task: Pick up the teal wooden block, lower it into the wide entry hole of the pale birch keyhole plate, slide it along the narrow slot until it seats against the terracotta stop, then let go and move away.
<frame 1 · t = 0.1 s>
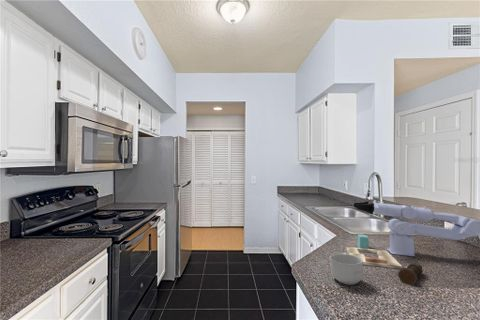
hand: (355, 205, 123), 22 cm above the countertop, tool horizontal, fingers open, 7 cm apart
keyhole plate: (370, 258, 108), on the countertop
slider block: (363, 247, 123), on the countertop
bolt: (413, 278, 88), on the countertop
teacup: (346, 279, 86), on the countertop
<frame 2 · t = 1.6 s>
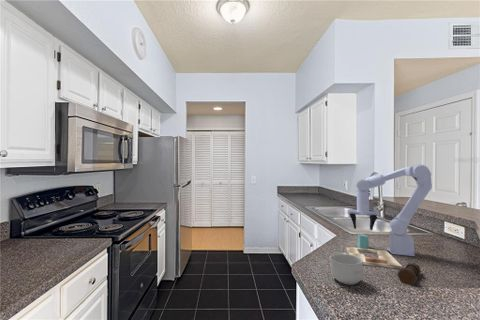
hand: (363, 229, 124), 9 cm above the countertop, tool pointing down, fingers open, 7 cm apart
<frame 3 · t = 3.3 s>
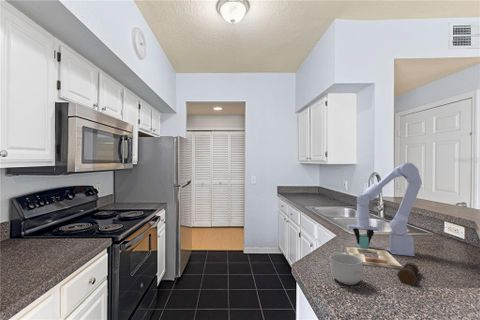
hand: (363, 244, 123), 2 cm above the countertop, tool pointing down, fingers closed on slider block, 4 cm apart
slider block: (363, 247, 123), on the countertop, touching gripper
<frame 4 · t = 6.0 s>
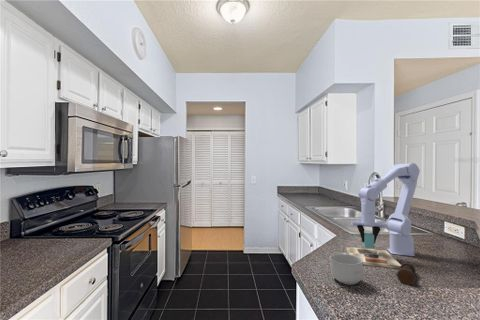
hand: (368, 242, 113), 6 cm above the countertop, tool pointing down, fingers closed on slider block, 4 cm apart
slider block: (368, 246, 113), point 4 cm above the countertop, touching gripper
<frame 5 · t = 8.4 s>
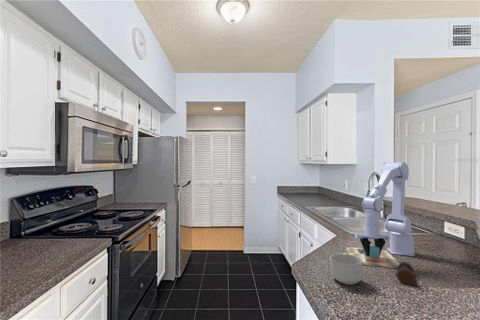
hand: (372, 255, 105), 2 cm above the countertop, tool pointing down, fingers closed on slider block, 4 cm apart
slider block: (371, 259, 106), resting in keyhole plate, touching gripper
when the fingers open (2 cm above the countertop, at t = 10.3 s): slider block stays where it is, resting in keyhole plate.
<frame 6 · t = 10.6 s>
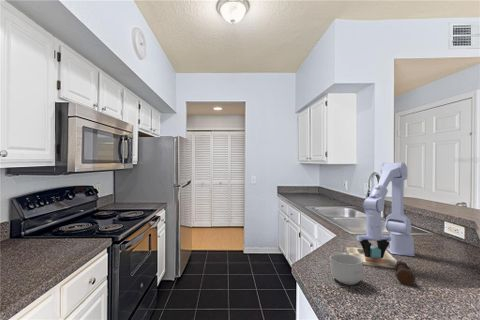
hand: (374, 257, 103), 2 cm above the countertop, tool pointing down, fingers open, 6 cm apart
slider block: (373, 261, 104), resting in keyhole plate
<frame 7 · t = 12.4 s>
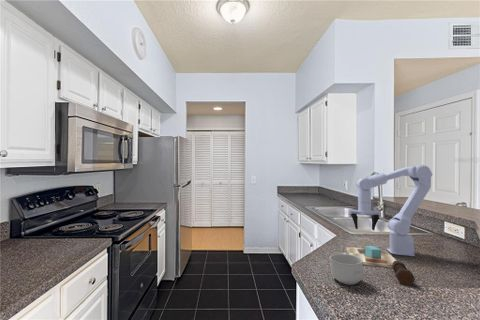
hand: (364, 229, 120), 10 cm above the countertop, tool pointing down, fingers open, 7 cm apart
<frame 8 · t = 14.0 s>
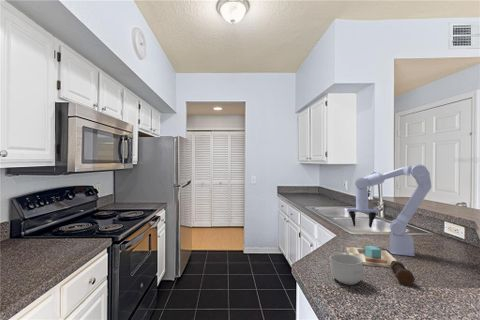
hand: (362, 226, 126), 10 cm above the countertop, tool pointing down, fingers open, 7 cm apart
at the end: slider block 0.6 cm from the target spot on the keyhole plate, point 0.0 cm above the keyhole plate's base; the gripper is holding nothing; slider block tilted 0° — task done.
